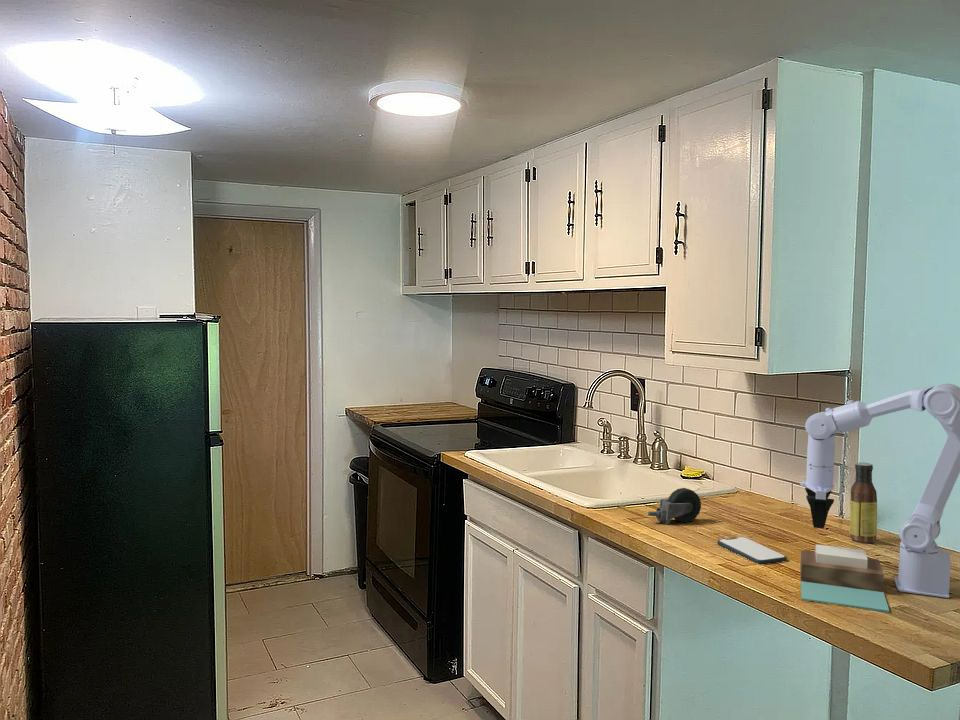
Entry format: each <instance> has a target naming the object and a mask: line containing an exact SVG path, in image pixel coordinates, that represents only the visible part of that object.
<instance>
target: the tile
mask: <svg viewBox="0 0 960 720" xmlns="http://www.w3.org/2000/svg"><path fill="white" fill-rule="evenodd" d="M814 552H815V554H816V563H824V564H832V565H840V566H848V567H855V568H863V569H867V564H868V559H867V558H868V556H867V553H866V550H864V549H856V548H850V547H840V546H832V545H825V544H823V545H822V544H818V543H817V544H815V551H814Z"/></svg>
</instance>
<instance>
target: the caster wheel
mask: <svg viewBox="0 0 960 720" xmlns="http://www.w3.org/2000/svg"><path fill="white" fill-rule="evenodd" d="M659 500H660V501H659V507H657V508H656V510H655V511H648V512H647V516H649V517H650V516H651V517H655V518H656V520H657V522H658V521H659V522H662V523H663V524H665V525H670V524H671V520H673V519H674V520H676V521H678V522H680V523H688V522H691V521H693V520H695V519H696V518H697V517H698V516H699V515H700V513H701V508H702V501H701V498H700V496H699V494H697V493H696V492H695V491H694V490H692V489H689V488H686V487H682V488H681V487H680V488H677V489H674V491H672V493H670V495H669V497H668V498H667V499H666V498H665V499H664V498H663V499H659Z"/></svg>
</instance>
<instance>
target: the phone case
mask: <svg viewBox="0 0 960 720" xmlns="http://www.w3.org/2000/svg"><path fill="white" fill-rule="evenodd" d="M718 545H719V546H718ZM717 546H718V547H720V546H721V547H720V548H722V547H723V548H722V549H724V548H726V549H728V550H730V551H729V552H731V551H732V552H731V553H733V552H734V553H733V554H735V553H736V554H735V555H737V554H739V555H741V556H743V557H745V558H747V559H746V560H748V559H749V560H748V561H750V560H751V561H750V562H752V561H753V562H752V563H754V562H755V563H754V564H756V563H758V564H757V565H761V564H764V565H769V564H768V563H771V564H777V563H776V562H779V563H783V562H782V561H786V560H787V559H788V558H787V556H786V555H785V554H782V553H780V552H779V551H776V550H774V549H772V548H770V547H768V546H764V545H762V544H760V543H758V542H756V541H754V540H752V539H750V538H747V537H744V536H737V537H727V538H720V539H717ZM726 549H725V550H726ZM728 550H727V551H728ZM739 555H738V556H739ZM741 556H740V557H741ZM743 557H742V558H743ZM745 558H744V559H745ZM786 562H787V561H786Z"/></svg>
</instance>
